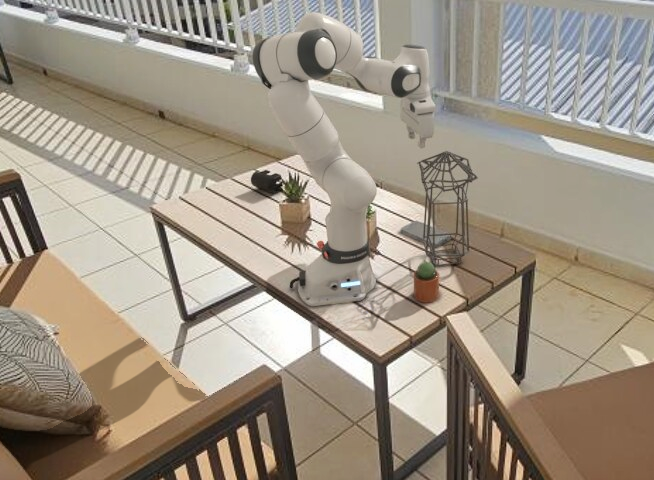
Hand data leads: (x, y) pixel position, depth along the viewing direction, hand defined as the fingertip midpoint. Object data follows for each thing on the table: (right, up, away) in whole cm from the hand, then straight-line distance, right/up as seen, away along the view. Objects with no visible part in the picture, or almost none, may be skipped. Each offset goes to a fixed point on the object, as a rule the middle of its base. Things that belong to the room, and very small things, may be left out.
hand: (416, 142), depth 195 cm
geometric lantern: (+9, -37, -4) cm, 38 cm away
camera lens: (-56, -11, +41) cm, 70 cm away
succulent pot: (+3, -47, -20) cm, 51 cm away
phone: (+3, -29, +9) cm, 31 cm away
